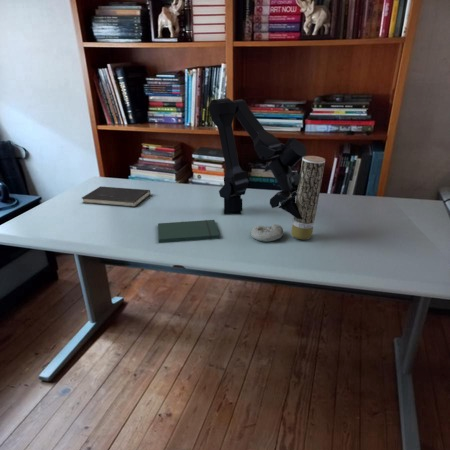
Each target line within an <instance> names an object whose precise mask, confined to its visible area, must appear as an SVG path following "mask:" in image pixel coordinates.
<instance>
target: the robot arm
mask: <svg viewBox="0 0 450 450" xmlns="http://www.w3.org/2000/svg"><path fill="white" fill-rule="evenodd" d="M208 113H209V115H210V119H211V121H212V123H213V124H214V126H215V127H216V128H217V130H218V136H219V140H220V141H219V142H220V145H221V149H222V150H221V151H222V155H223V161H224V167H225V172H224V176H223V186H222V187H221V188H220V189H219V191H218V194H219V197H220V198H222V199H223V215H241V214H242V212H243V198H242V196H245V195H246V191H247V189H248V188H249V182H250V181H249V179H248V172H247V171H246V170H243V169H242V168H241V166H240V160H239V156H238V150H237V146H236V139H235V135H234V130H233V129H234V128H233V122H234V119H235V118H236V119H237V120H238V122H240V125H241V126H242V127H243V129H244V130H245V132H246V133H247V134H248V135H249V137H250V138H251V140H252V142H253V149H254V151H255V153H256V155H257V156H258V158H259V160H263V161H266V160H270V159H272V160H270V161H266V162H265V166H264V171H265V172H269V171H270V172H271V173H272V175H273V177H274V179H275V180H276V183H275V186H276V187H279V188H280V189H281V190H280V191H277V192H276V193H275V194H274V195H273V196H272V197H271V198H269V205H270V207H271V208H272V209H274V208H277V207H278V209H282V210H283V211H285V212H287V213H288V214H289V215H291V216H293V217H296V218H297V219H302V217H301V215H300V213H299V210H298V207H297V205H296V197H297V191H298V185H299V181H300V175H301V174H300V173H298V172H297V170H295V171H293V169H292V167H295V166H296V165H297V164H298V163H299V162H300V161H302V159H303V157H304V156H307V151H308V150H307V147H306V145H305V144H304V143H302V142H301V141H299V140H297V139H296V137H289V138H288V140H287V141H286V143H285V144H284V143H282V142H281V141H280V140H279V139H278V138H277V137H276V136H275V134H273V133H271V132H270V131H269V132H268V131H267V130H266V128H264V127H263V125H262V124H261V123H260V121H259V120H258V118H257V117H256V116H255V114H254V113H253V112H252V110H251V109H250V108H249V105H248V104H247V101H246V100H244V99H235V100H231V99H230V98H229V97H223V98H216V99H215V98H214V99H212V100H211V101H209V105H208Z"/></svg>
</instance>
